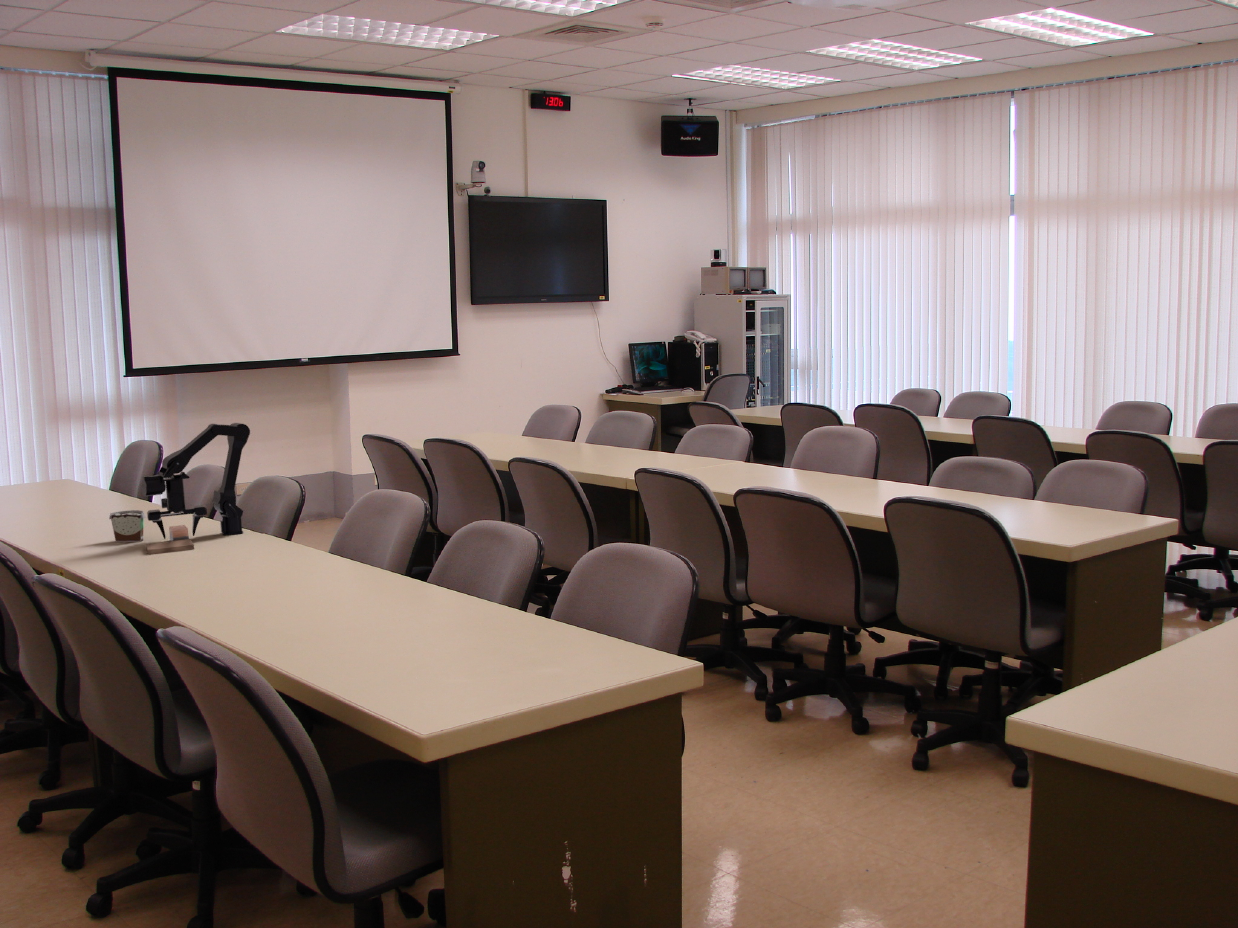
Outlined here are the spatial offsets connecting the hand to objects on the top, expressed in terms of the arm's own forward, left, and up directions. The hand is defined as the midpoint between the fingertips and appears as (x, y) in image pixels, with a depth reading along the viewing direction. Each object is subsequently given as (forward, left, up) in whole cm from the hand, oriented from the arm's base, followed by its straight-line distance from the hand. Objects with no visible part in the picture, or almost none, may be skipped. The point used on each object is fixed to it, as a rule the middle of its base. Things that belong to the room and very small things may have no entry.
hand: (179, 537), depth 376 cm
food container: (+14, -13, -2) cm, 19 cm away
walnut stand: (+4, +12, -1) cm, 12 cm away
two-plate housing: (0, 0, -2) cm, 2 cm away
